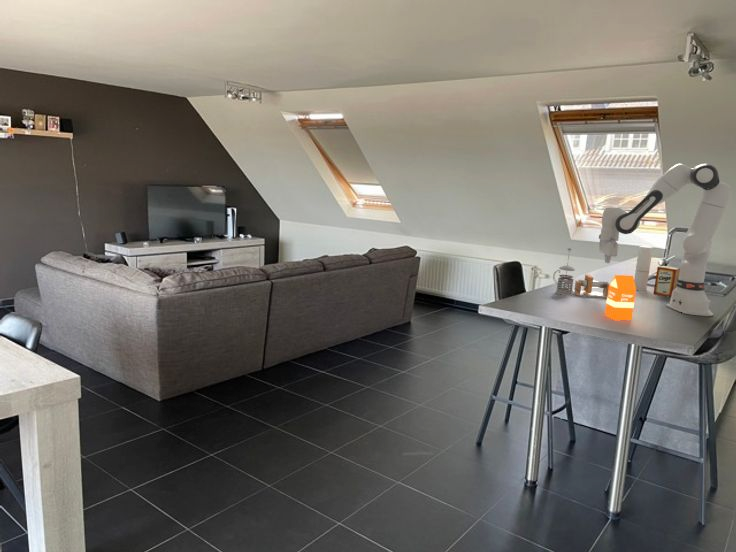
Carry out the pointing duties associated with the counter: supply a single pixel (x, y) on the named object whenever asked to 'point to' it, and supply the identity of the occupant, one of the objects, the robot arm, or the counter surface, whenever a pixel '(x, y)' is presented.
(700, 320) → the counter surface
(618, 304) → the orange juice
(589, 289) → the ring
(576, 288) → the pipe rig
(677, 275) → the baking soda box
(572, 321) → the counter surface
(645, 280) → the cylindrical container
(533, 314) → the counter surface
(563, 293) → the french press
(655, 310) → the counter surface
